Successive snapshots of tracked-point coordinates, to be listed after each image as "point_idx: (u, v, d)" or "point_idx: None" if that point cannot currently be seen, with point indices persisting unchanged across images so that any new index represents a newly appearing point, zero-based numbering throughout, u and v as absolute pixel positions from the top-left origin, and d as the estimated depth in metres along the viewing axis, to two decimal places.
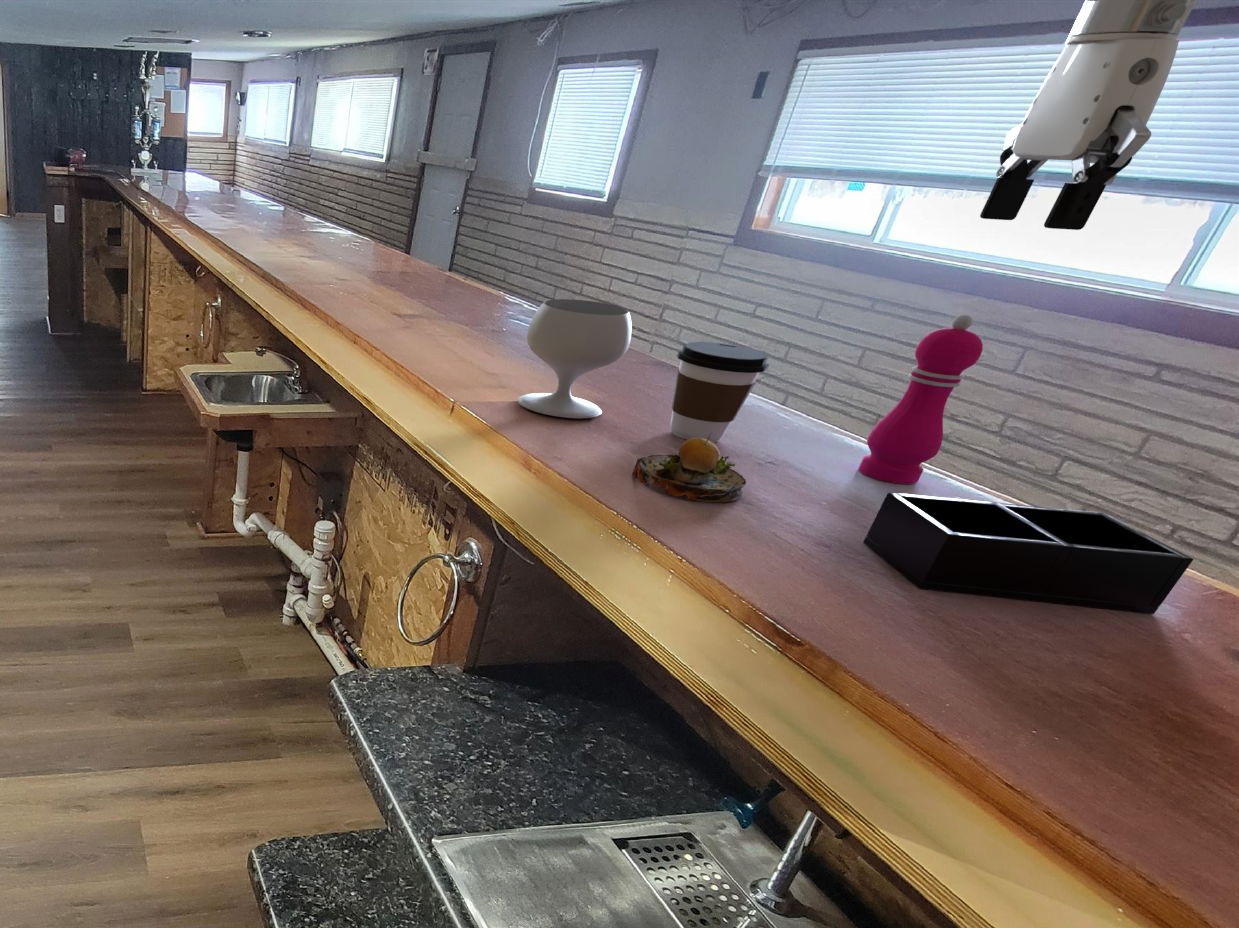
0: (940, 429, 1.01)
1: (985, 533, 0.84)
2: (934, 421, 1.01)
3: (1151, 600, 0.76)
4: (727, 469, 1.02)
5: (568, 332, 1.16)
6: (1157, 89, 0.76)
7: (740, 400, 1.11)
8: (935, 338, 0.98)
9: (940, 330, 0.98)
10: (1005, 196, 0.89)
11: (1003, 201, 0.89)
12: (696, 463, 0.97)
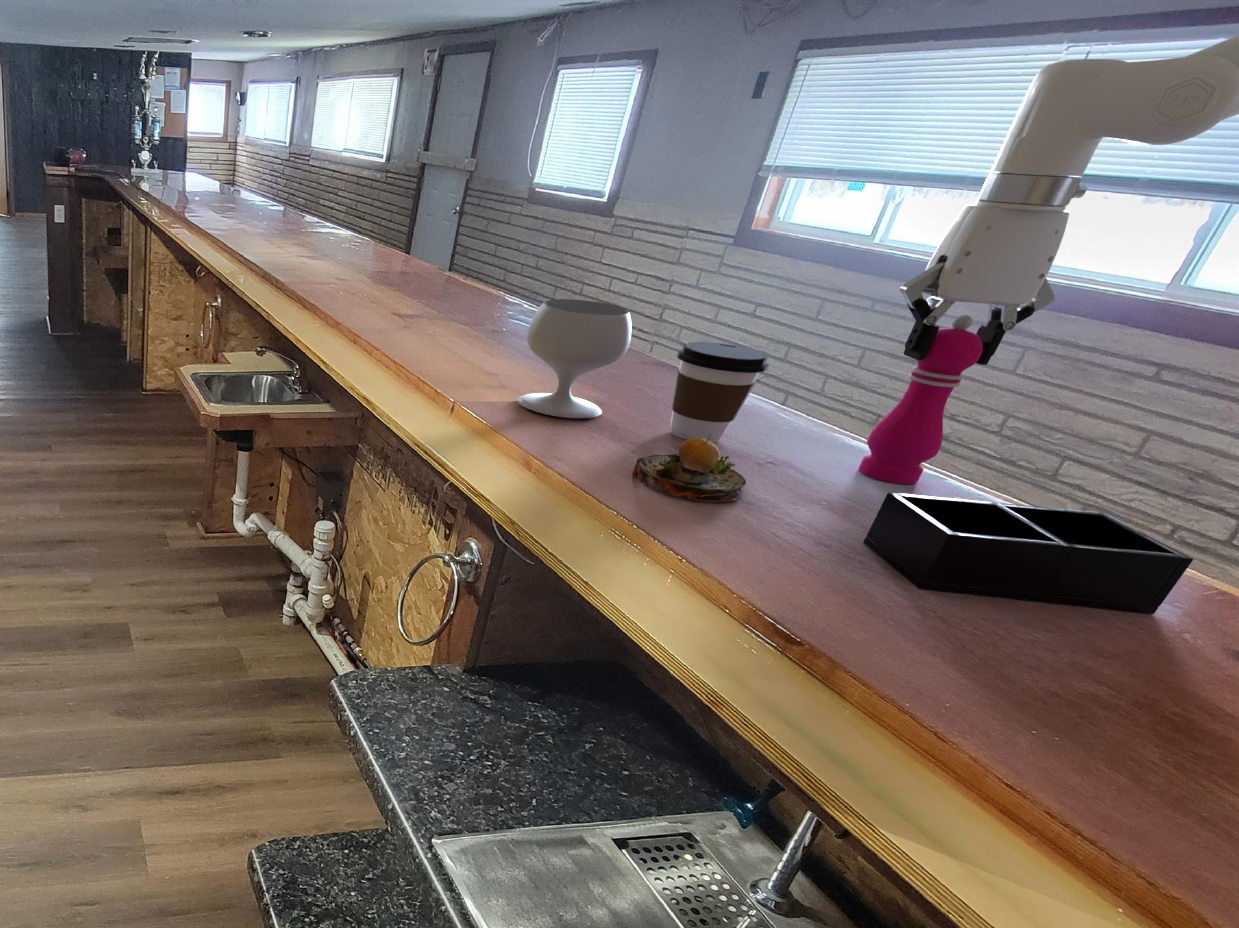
0: (940, 429, 1.01)
1: (985, 533, 0.84)
2: (934, 421, 1.01)
3: (1151, 600, 0.76)
4: (727, 469, 1.02)
5: (568, 332, 1.16)
6: None
7: (740, 400, 1.11)
8: (935, 338, 0.98)
9: (940, 330, 0.98)
10: None
11: None
12: (696, 463, 0.97)
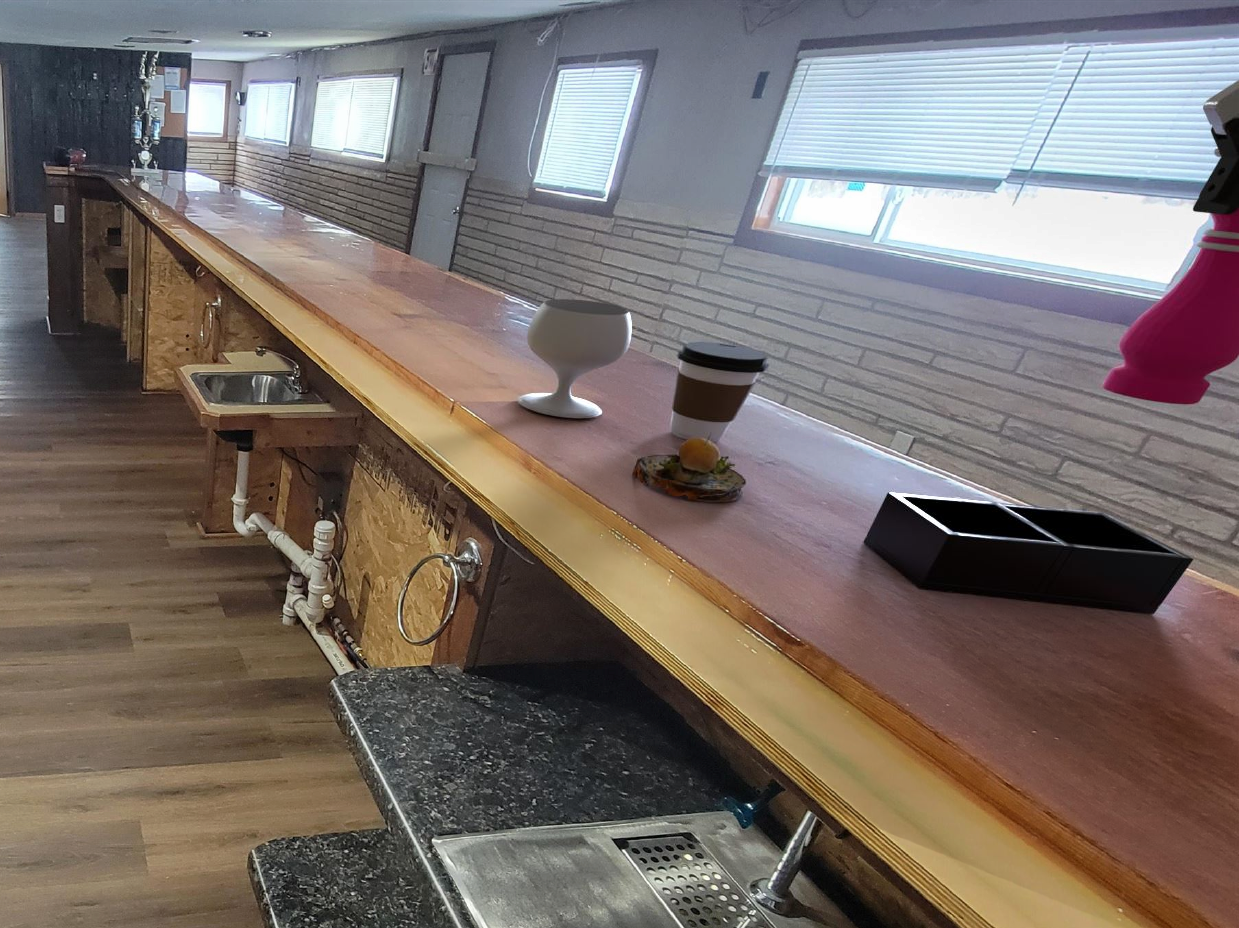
0: None
1: (985, 533, 0.84)
2: None
3: (1151, 600, 0.76)
4: (727, 469, 1.02)
5: (568, 332, 1.16)
6: None
7: (740, 400, 1.11)
8: None
9: None
10: None
11: None
12: (696, 463, 0.97)
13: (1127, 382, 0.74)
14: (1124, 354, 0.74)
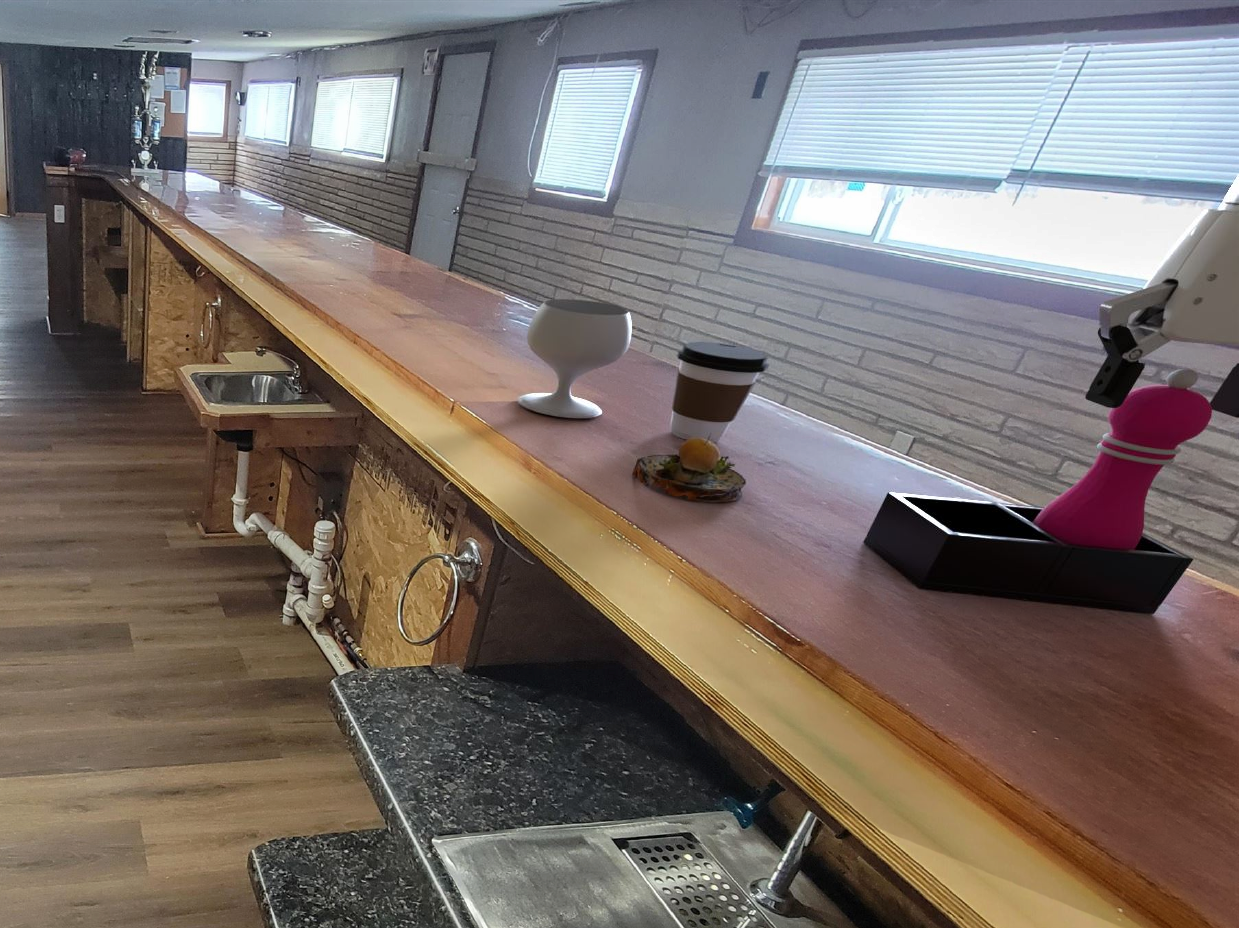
0: (1142, 518, 0.76)
1: (985, 533, 0.84)
2: (1134, 509, 0.75)
3: (1151, 600, 0.76)
4: (727, 469, 1.02)
5: (568, 332, 1.16)
6: None
7: (740, 400, 1.11)
8: (1144, 399, 0.72)
9: (1150, 388, 0.73)
10: None
11: None
12: (696, 463, 0.97)
13: None
14: None
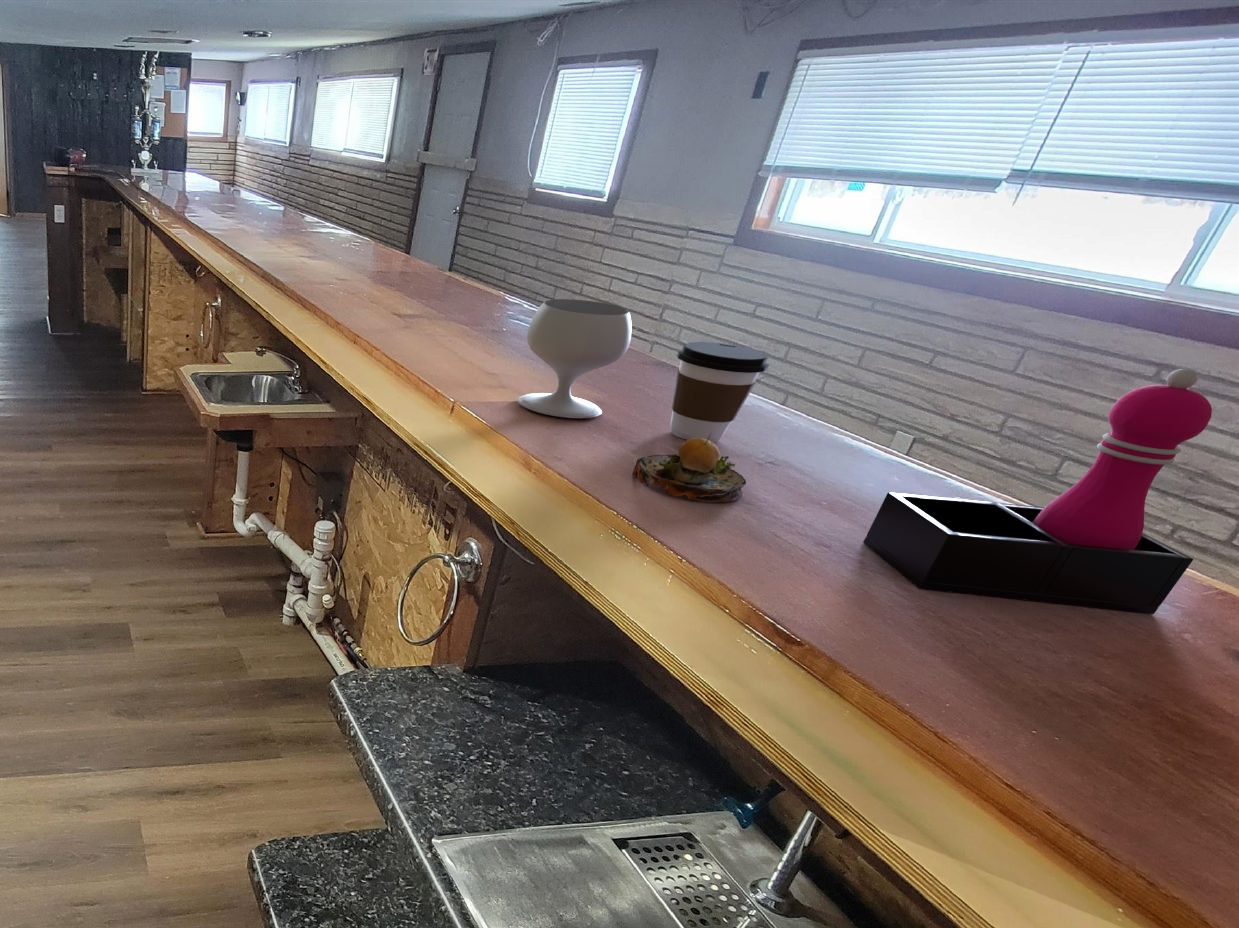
0: (1142, 518, 0.76)
1: (985, 533, 0.84)
2: (1134, 509, 0.75)
3: (1151, 600, 0.76)
4: (727, 469, 1.02)
5: (568, 332, 1.16)
6: None
7: (740, 400, 1.11)
8: (1143, 399, 0.72)
9: (1150, 388, 0.73)
10: None
11: None
12: (696, 463, 0.97)
13: None
14: None
